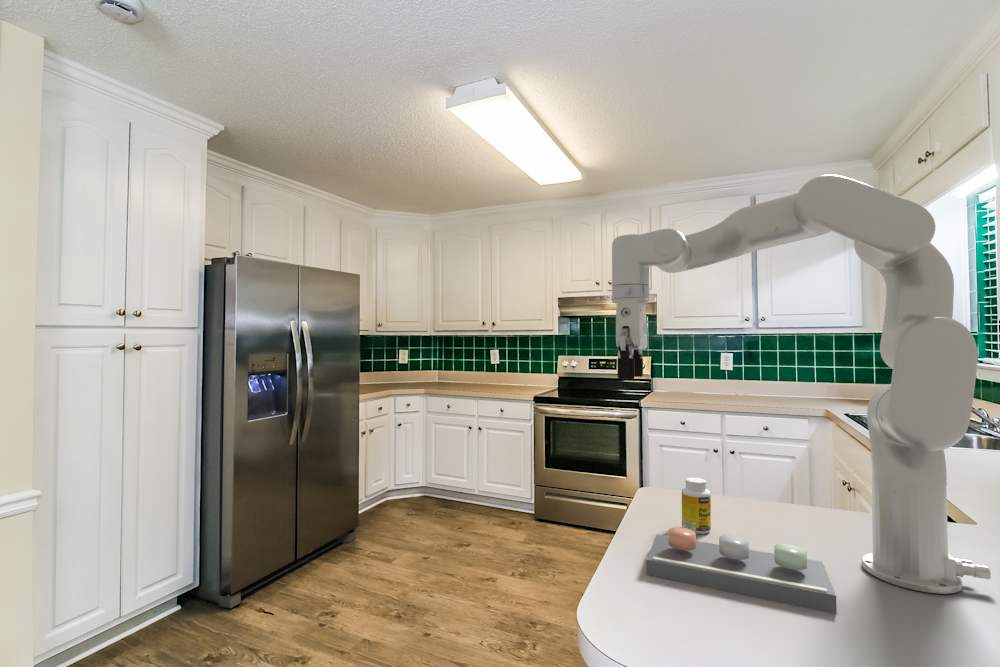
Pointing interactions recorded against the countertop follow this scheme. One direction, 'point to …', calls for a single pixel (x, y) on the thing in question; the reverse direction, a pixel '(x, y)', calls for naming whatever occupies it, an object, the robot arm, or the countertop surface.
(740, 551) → the grey button
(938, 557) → the robot arm
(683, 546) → the terracotta button
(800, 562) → the sage button
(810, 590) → the button panel
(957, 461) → the countertop surface
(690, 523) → the supplement bottle
